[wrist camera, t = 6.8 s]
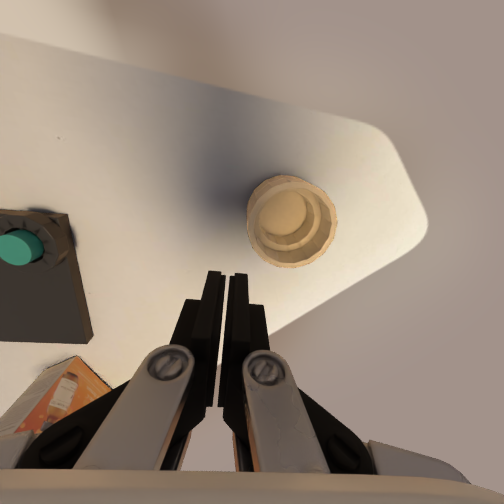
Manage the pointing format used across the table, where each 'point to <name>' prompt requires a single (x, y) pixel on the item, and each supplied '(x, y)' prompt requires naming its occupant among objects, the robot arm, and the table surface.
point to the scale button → (20, 247)
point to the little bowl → (290, 221)
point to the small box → (53, 397)
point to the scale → (43, 285)
